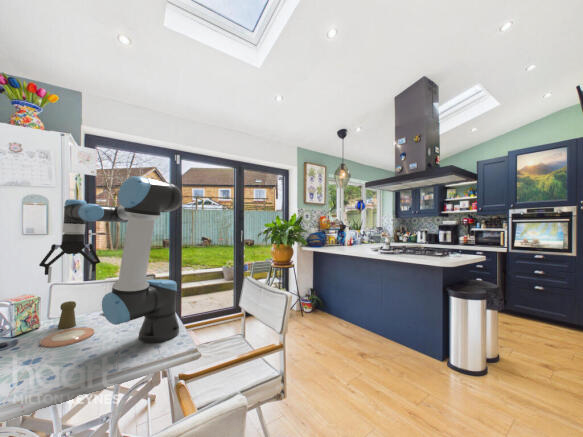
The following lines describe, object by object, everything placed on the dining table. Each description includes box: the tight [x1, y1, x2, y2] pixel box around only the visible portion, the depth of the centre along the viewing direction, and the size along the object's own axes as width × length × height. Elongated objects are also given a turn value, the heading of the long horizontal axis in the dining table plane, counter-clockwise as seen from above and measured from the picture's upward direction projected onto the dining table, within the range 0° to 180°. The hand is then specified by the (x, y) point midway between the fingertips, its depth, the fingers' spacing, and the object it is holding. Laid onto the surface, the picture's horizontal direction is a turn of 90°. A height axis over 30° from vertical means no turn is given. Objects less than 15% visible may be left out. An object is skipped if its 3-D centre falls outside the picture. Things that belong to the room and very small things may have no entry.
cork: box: [57, 300, 77, 331], centre depth 107 cm, size 6×6×11 cm
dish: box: [39, 326, 95, 348], centre depth 97 cm, size 16×16×1 cm
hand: (70, 280), depth 108 cm, fingers open, 13 cm apart
